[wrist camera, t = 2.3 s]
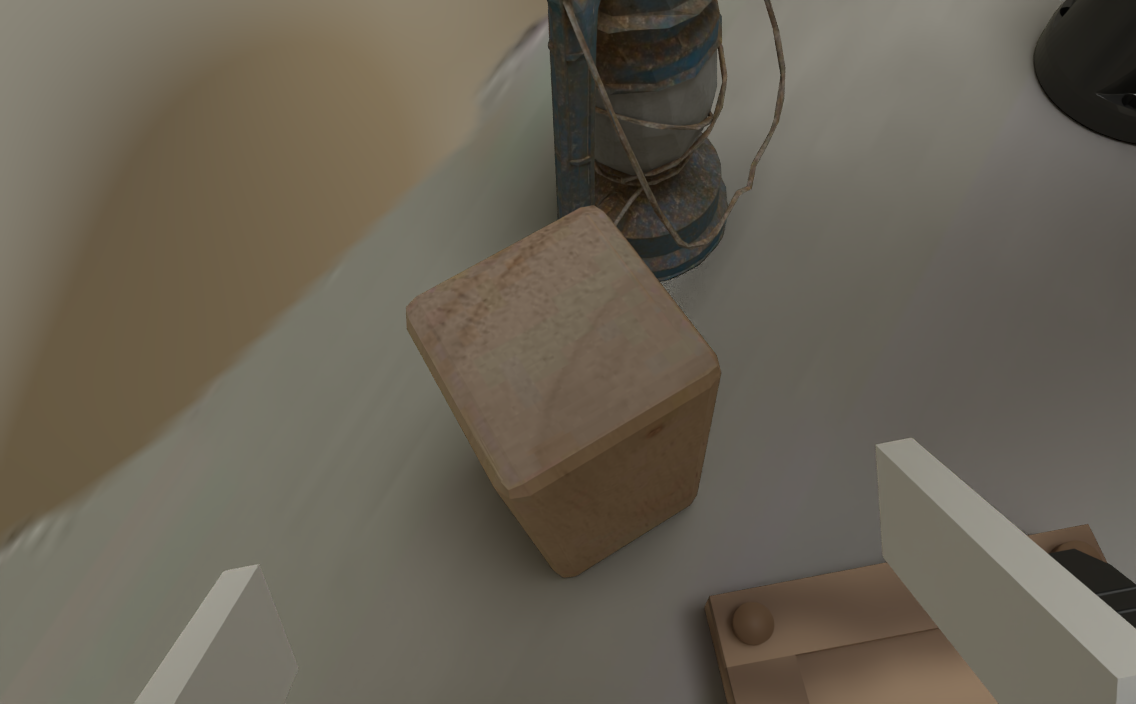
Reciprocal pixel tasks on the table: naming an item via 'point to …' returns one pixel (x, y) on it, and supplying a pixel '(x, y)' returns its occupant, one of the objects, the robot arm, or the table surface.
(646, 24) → the lantern
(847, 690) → the base plate
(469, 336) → the wooden block
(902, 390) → the table surface
